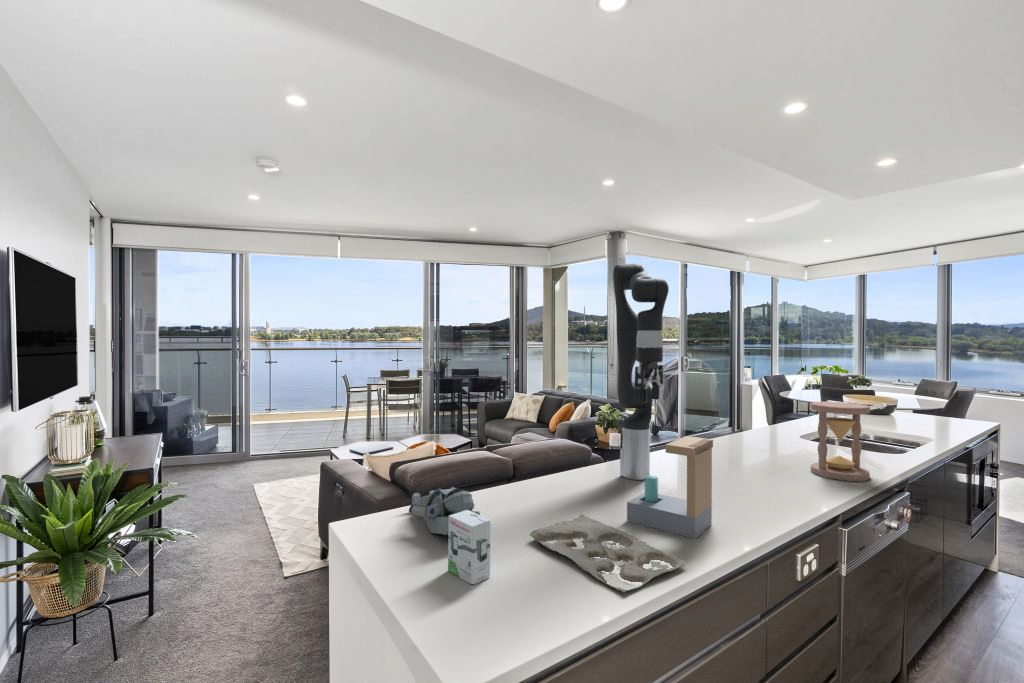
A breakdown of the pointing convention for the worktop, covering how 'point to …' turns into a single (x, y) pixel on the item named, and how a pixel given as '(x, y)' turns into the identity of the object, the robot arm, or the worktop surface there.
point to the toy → (441, 507)
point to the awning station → (675, 511)
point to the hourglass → (840, 426)
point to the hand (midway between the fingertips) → (649, 400)
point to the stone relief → (604, 549)
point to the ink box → (469, 546)
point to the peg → (651, 489)
